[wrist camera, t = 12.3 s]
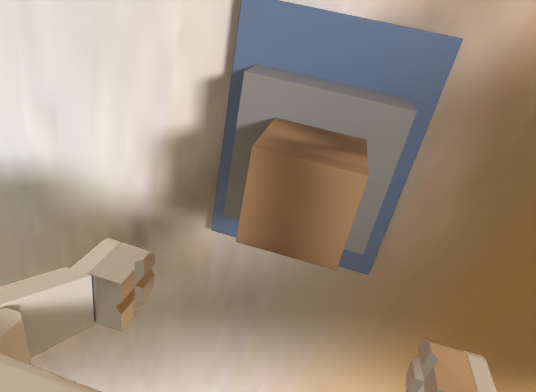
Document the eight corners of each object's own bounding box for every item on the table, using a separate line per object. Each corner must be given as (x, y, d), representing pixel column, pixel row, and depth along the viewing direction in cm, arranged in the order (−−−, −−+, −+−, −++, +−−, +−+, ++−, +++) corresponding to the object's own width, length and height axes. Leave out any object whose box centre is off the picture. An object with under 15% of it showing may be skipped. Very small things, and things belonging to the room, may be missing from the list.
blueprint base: (459, 38, 20) (479, 43, 17) (368, 267, 27) (369, 303, 24) (246, -7, 21) (225, -10, 18) (215, 225, 29) (196, 252, 25)
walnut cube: (366, 139, 20) (368, 176, 15) (340, 218, 22) (336, 270, 18) (275, 117, 20) (252, 146, 16) (259, 197, 22) (235, 241, 18)
